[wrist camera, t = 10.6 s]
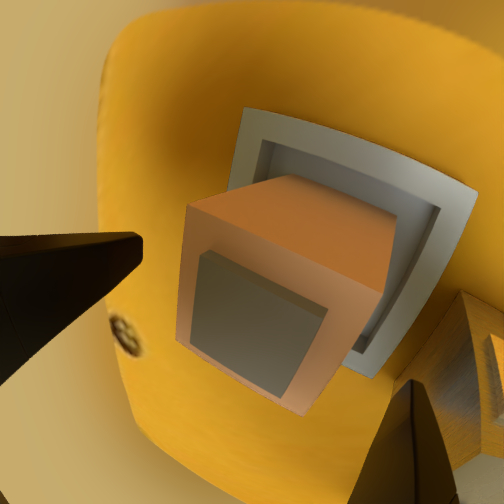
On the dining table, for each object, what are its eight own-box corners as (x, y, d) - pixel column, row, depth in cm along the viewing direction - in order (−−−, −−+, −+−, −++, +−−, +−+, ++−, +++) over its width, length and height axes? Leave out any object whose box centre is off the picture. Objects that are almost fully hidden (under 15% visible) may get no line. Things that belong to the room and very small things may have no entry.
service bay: (379, 352, 14) (372, 379, 12) (230, 277, 18) (209, 293, 16) (466, 185, 9) (478, 192, 8) (267, 110, 13) (244, 106, 11)
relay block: (355, 307, 13) (297, 426, 7) (267, 265, 15) (167, 346, 9) (397, 215, 11) (381, 303, 5) (292, 173, 13) (175, 207, 7)
